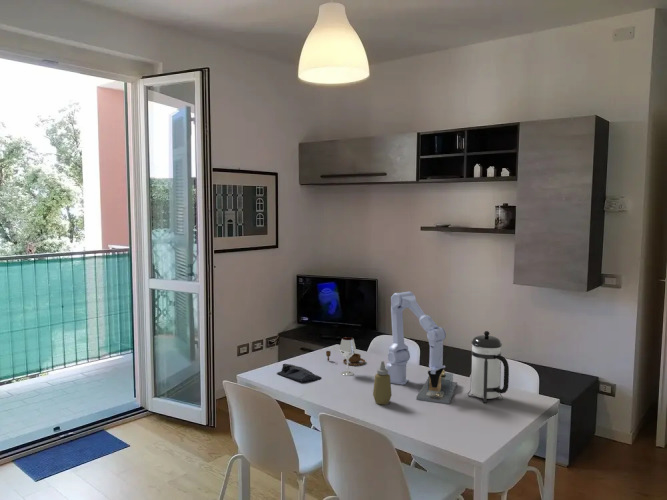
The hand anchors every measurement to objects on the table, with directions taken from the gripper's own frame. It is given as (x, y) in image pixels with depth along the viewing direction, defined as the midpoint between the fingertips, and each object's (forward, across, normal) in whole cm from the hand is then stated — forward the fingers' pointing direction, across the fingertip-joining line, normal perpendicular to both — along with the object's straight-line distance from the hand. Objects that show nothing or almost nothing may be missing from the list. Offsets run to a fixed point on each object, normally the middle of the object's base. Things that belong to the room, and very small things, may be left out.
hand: (435, 385), depth 222 cm
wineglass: (+5, +15, +47) cm, 50 cm away
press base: (+5, +6, 0) cm, 8 cm away
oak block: (+2, 0, 0) cm, 2 cm away
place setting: (+6, +35, +54) cm, 65 cm away
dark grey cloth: (+6, +3, +68) cm, 69 cm away
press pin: (+1, +14, 0) cm, 14 cm away
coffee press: (+5, +6, -22) cm, 23 cm away
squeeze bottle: (+5, -16, +20) cm, 26 cm away
